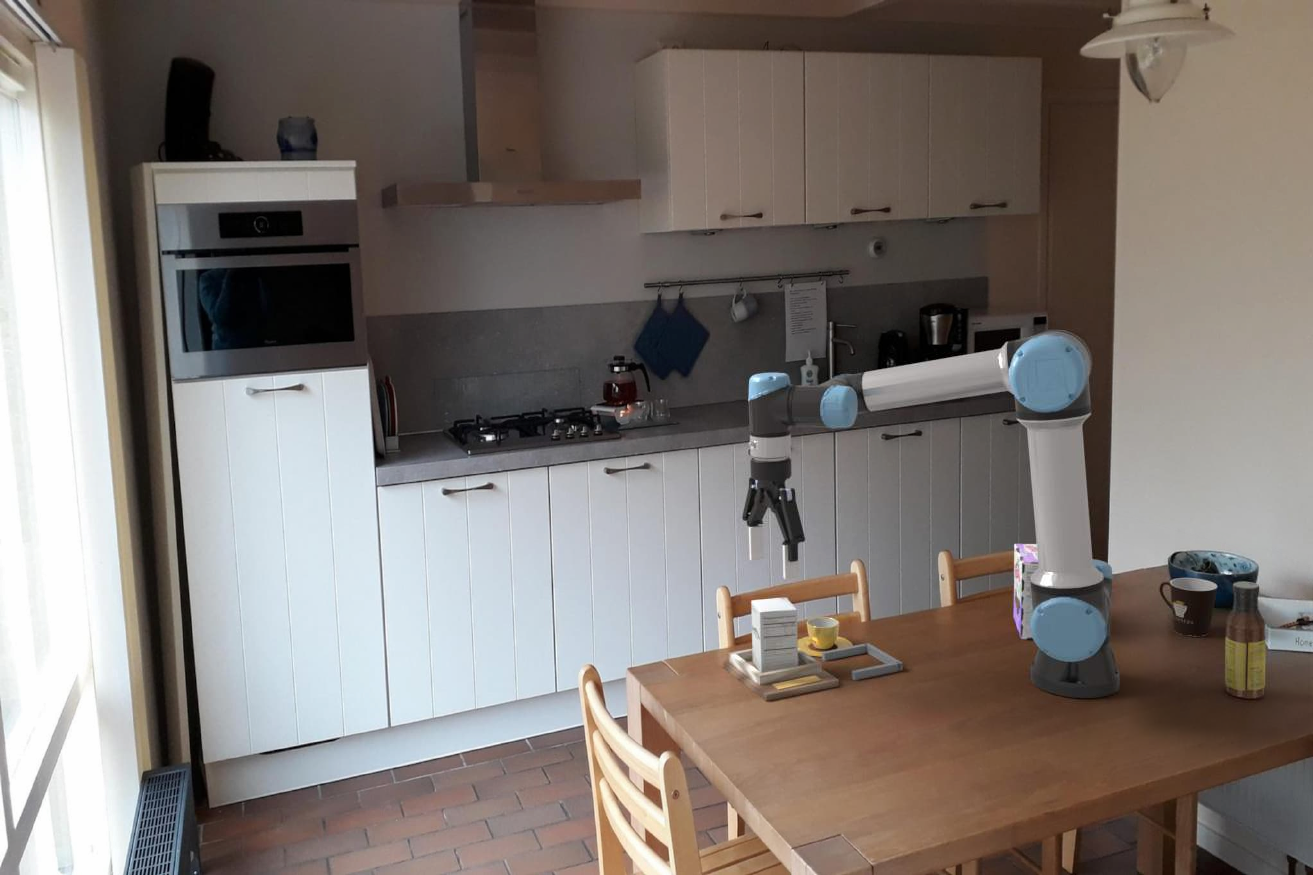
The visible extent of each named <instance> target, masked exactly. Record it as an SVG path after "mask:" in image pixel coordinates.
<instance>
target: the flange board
mask: <svg viewBox="0 0 1313 875" xmlns="http://www.w3.org/2000/svg"><path fill="white" fill-rule="evenodd" d="M722 663H723V664H722V665H723V669H724V670H726V671H727V672H728V673H730V674H731V675H732V676H733V677H735V678H736V679H737V680H738V681H740V682H741V683H742V684H744V685H745V686H746V687H747V686H748V687H747V688H749V689H750V690H752V692H754V693H755V694H757V696H759V697H760V698H761V699H762V700H764V701H766V702H770V701H774V700H778V699H784V698H788V697H792V696H793V695H794V696H798V695H803V694H807V692H808V693H812V692H816V691H823V690H826V689H832V688H836V687H839V686H840V680H839V678H837V677H835V676H834V675H833V674H830V673H829V672H827V671H826V670H825V669H823V668H822V666H823V665H822V663H821V662H820V661H819V660H817V659H815V658H814V657H813V656H811V655H808V654H806V653H805V652H803V651H802V650H800V649H799V648H798V666H795V667H790V668H785V669H780V670H775V671H770V672H764V673H761V672H760V671H759V670H758V668H757V666H756V665H755V664H754V662H753V653H752V648H748V649H743V650H736V651H731V652H728V660H726V661H722ZM794 696H793V697H794Z"/></svg>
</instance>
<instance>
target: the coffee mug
mask: <svg viewBox="0 0 1313 875" xmlns="http://www.w3.org/2000/svg"><path fill="white" fill-rule="evenodd" d="M1165 586H1168V587H1170V588H1169V590H1170V600H1171V602H1169V600H1168V599H1167V598H1166V596H1165V594H1164V590H1163V589H1164V587H1165ZM1217 590H1218V585H1217V584H1216V583H1215V582H1214V581H1210V580H1208V579H1207V580H1206V579H1202V578H1195V577H1180V578H1179V577H1178V578H1174V579H1171V580H1170V581H1164V582H1161V583H1160V585H1159V591H1158V592H1159V594H1160V596H1161V598H1162V600H1163V601H1164V603H1165V604H1166V605H1167V606H1168V607H1169V608H1170V610H1171V611H1172V621H1173V622H1172V623H1173V624H1172V625H1173V631H1174V630H1175V631H1176V632H1178V633H1181V634H1183V635H1192V636H1194V635H1195V636H1202V635H1207V634H1208V633H1209V634H1210V629H1211V625H1212V619H1213V613H1214V608H1215V601H1216V596H1217ZM1175 631H1174V632H1175ZM1176 632H1175V633H1176ZM1183 635H1182V636H1183Z"/></svg>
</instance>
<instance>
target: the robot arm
mask: <svg viewBox="0 0 1313 875" xmlns="http://www.w3.org/2000/svg"><path fill="white" fill-rule="evenodd" d="M1091 354H1092V353H1091V352H1090V349H1089V348H1088V345H1087V344H1086V343H1085V341H1084V340H1083V339H1082V338H1080V337H1079V336H1078V335H1076V334H1074V333H1072V332H1070V331H1067V330H1062V329H1050V330H1049V329H1048V330H1046V331H1043V332H1040V333H1037V334H1035V335H1031V336H1028V337H1024V338H1020V339H1016V340H1010V341H1006V342H1004V344H1003V345H1002V346H1001V348H998V349H996V348H995V349H993V350H992V349H991V350H986V351H980V352H974V353H970V354H969V353H968V354H963V355H958V356H957V355H956V356H951V357H945V358H939V359H934V360H928V361H921V362H917V363H911V364H904V365H898V366H893V367H887V368H881V369H876V370H869V371H865V372H859V373H854V374H850V373H845V374H840V375H835V376H834V377H833V378H831V379H829V380H827V381H825V382H822V383H821V384H818V385H817V384H816V385H815V384H814V385H812V384H811V385H810V384H809V385H801V384H800V385H798V384H796V385H795V384H791V382H792V381H791V380H790V376H789V374H787V373H784V372H761V373H756V374H753V375H752V376H751V377H750V378H749V381H748V399H747V401H748V417H749V420H748V421H749V422H748V423H749V442H748V446H749V447H750V453H749V454H750V456H751V457H752V458H751V459H750V463H749V464H750V477H749V478H748V489H747V494H746V498H745V499H746V500H745V503H744V507H743V511H742V516H741V517H742V518H741V519H742V520H743V521H744V522H746V526H748V545H749V546H748V548H749V549H748V550H749V561H758V560H759V561H760V560H764V559H765V551H764V550H765V549H764V544H765V543H764V526H763V525H764V521H763V519H764V517H765V515H766V512H767V510H768V509H770V511H771V512H772V513H773V514H774V516H775V518H776V520H777V524H778V526H779V529H780V532H781V535H782V537H783V542H782V543H781V545H782V567H783V568H782V571H783V572H782V574H783V575H782V576H783V579H784V580H789V579H794V578H799V544H800V543H804V542H805V541H806V536H805V533H804V529H803V524H802V521H801V517H800V516H801V515H800V513H799V507H798V503H797V498H796V490H795V488H794V487H792V488H791V487H790V488H787V487H786V481H787V480H789V479H790V478H791V477H792V475H793V474H792V458H790V457H789V456H791V455H792V431H791V427H806V428H807V427H808V428H827V429H829V428H830V429H831V430H833V429H834V430H836V429H841V428H842V429H843V428H844V429H845V428H846V429H847V428H850V427H852V426H853V425H854V424H855V421H856V419H857V417H858V416H857V415H859V414H861V415H862V414H867V413H870V412H876V411H882V410H883V411H884V410H889V409H896V408H903V407H909V406H910V407H911V406H915V405H923V404H930V403H936V402H942V401H950V400H956V399H957V400H958V399H961V398H962V399H963V398H968V397H976V396H982V395H988V394H997V393H1000V392H1009V393H1011V394H1012V395H1014V402H1015V404H1014V405H1015V414H1016V420H1017V421H1018V422H1019V423H1020V424H1021V425H1022V426H1024V427H1025V429H1027V432H1026V433H1027V443H1028V455H1029V465H1030V466H1029V467H1030V479H1031V480H1030V481H1031V490H1032V504H1033V515H1034V525H1035V528H1034V529H1035V540H1036V541H1035V542H1036V544H1037V553H1038V565H1039V567H1038V569H1037V570H1036V571H1035V572H1034V573H1033V574H1032V575H1031V577H1030V582H1031V595H1032V607H1033V613H1032V615H1031V617H1030V618H1031V619H1030V630H1031V635H1032V637H1033V642H1034V643H1035V645H1036V646H1037V647H1038V648H1037V650H1036V656H1035V659H1034V660H1033V661H1032V663H1031V666H1030V680H1031V682H1032V684H1033V685H1034V686H1036V687H1038V688H1039V689H1041V690H1043V691H1045V692H1046V693H1049V694H1053V695H1057V696H1062V697H1067V698H1077V699H1095V698H1097V699H1098V698H1104V697H1106V696H1108V697H1109V696H1111V695H1113V694H1115V693H1116V692H1117V691H1118V690H1119V689H1120V671H1119V669H1118V668H1117V664H1116V663H1117V662H1116V659H1115V656H1114V652H1113V650H1112V647H1111V632H1112V631H1111V628H1112V627H1111V624H1112V601H1113V600H1112V598H1113V597H1112V596H1113V594H1112V593H1113V582H1114V577H1113V569H1112V566H1111V565H1110V564H1109V562H1106V561H1103V560H1101V559H1100V560H1099V559H1094V558H1093V552H1092V538H1091V525H1090V524H1091V522H1090V513H1089V512H1090V509H1089V500H1088V487H1087V486H1088V485H1087V483H1088V482H1087V475H1086V474H1087V471H1086V470H1087V469H1086V460H1085V449H1084V448H1085V447H1084V446H1085V444H1084V433H1083V424H1084V422H1085V421H1086V420H1087V419H1088V418H1089V417H1090V416H1091V415H1092V409H1091V408H1092V407H1091V406H1092V405H1091V395H1090V394H1091V393H1090V381H1089V378H1090V375H1091V372H1092V366H1093V361H1092V360H1093V359H1092V355H1091Z"/></svg>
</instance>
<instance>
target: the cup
mask: <svg viewBox="0 0 1313 875" xmlns="http://www.w3.org/2000/svg"><path fill="white" fill-rule="evenodd" d="M806 627H807V634H808V636H804V637H801V638H802V639H801V638H799V639H798V648H799V649H800V650H802V651H803V652H805V653H806V654H808V655H809V656H811V657H819V658H820V657H821V658H822V652H823V651H817V650H813V649H811V648H810V647H809V646H810V645H813V647H814V648H816V649H818V650H829V649H831V648H832V647H833V646H834V645H836V646H837V648H836V649H840V648H845V647H850V646H854V645H853V643H852V642H851V641H850V640H848V639H846V638H844V637H841V636H838V635H839V630H840V621H839V620H838V619H835V618H832V617H829V616H828V617H826V616H816V617H812V618H809V619H808V620H807V621H806Z"/></svg>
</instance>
